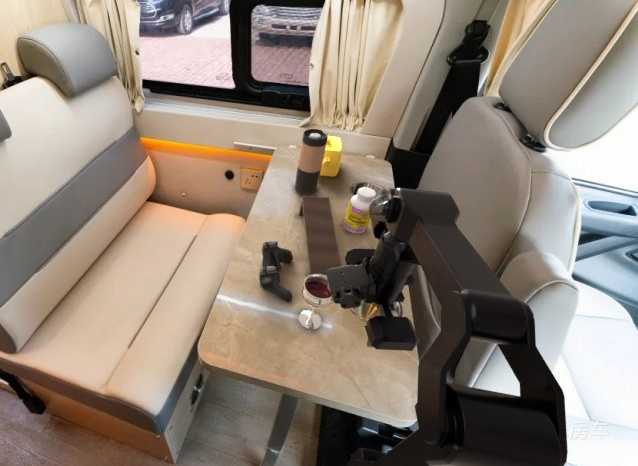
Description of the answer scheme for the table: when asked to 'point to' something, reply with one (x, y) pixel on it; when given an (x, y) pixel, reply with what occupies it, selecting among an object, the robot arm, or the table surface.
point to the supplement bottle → (359, 210)
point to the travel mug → (310, 160)
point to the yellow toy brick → (331, 157)
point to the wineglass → (315, 299)
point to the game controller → (274, 269)
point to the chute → (319, 234)
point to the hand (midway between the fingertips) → (362, 322)
